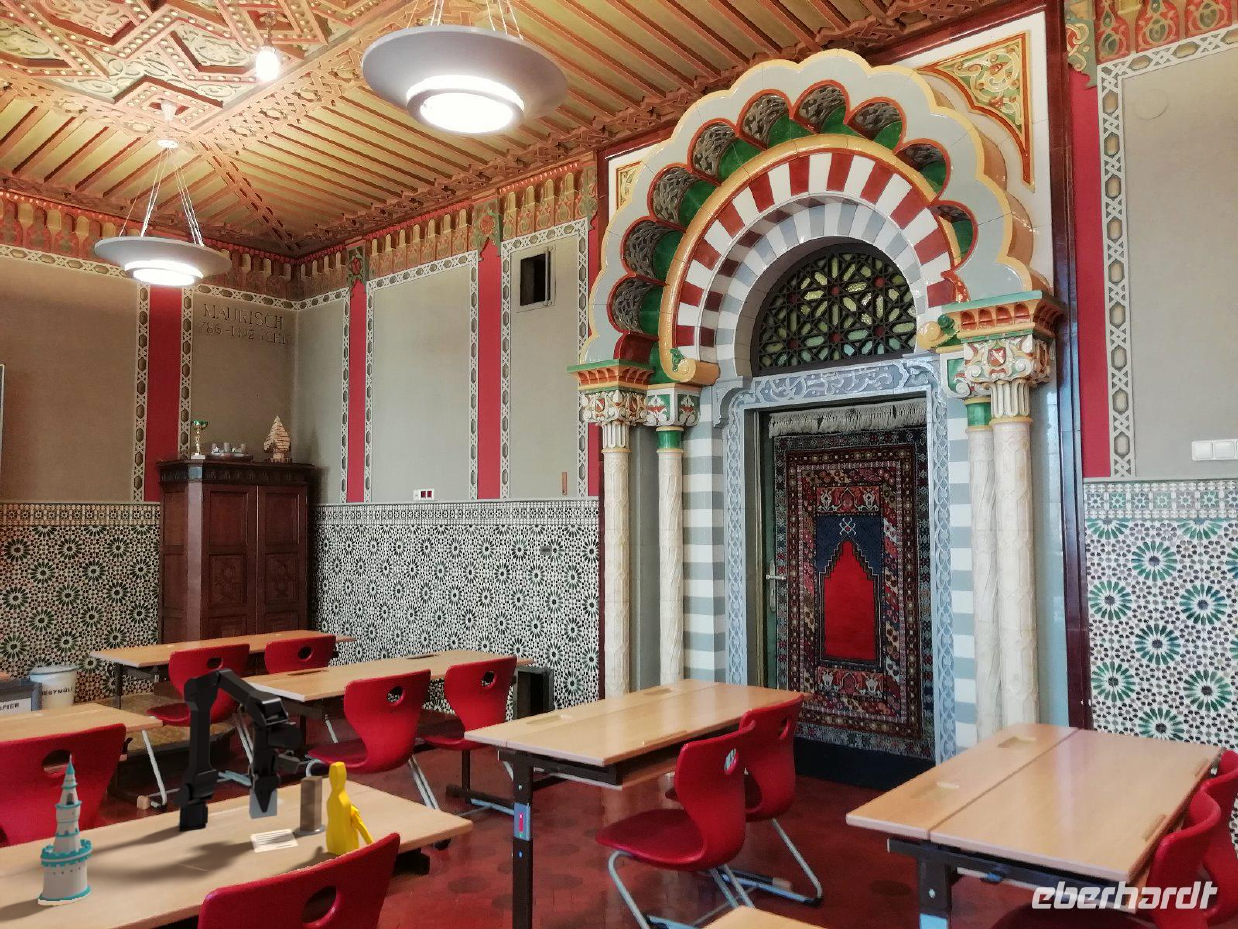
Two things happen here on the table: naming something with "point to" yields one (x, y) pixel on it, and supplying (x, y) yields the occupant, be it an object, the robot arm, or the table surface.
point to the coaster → (320, 830)
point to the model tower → (66, 849)
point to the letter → (273, 840)
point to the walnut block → (311, 803)
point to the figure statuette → (342, 816)
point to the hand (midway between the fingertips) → (263, 809)
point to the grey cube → (255, 807)
